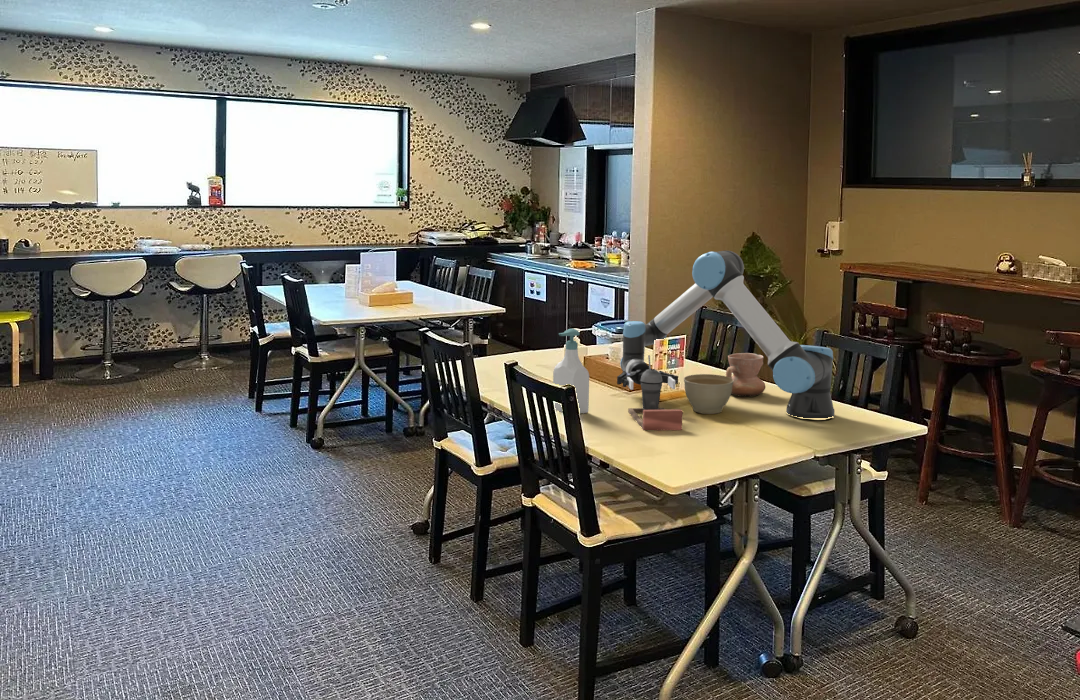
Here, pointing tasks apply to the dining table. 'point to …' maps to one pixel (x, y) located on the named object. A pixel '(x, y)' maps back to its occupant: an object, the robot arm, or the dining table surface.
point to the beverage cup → (651, 388)
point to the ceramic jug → (745, 374)
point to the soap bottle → (573, 372)
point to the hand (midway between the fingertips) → (653, 385)
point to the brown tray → (658, 418)
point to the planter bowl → (708, 392)
